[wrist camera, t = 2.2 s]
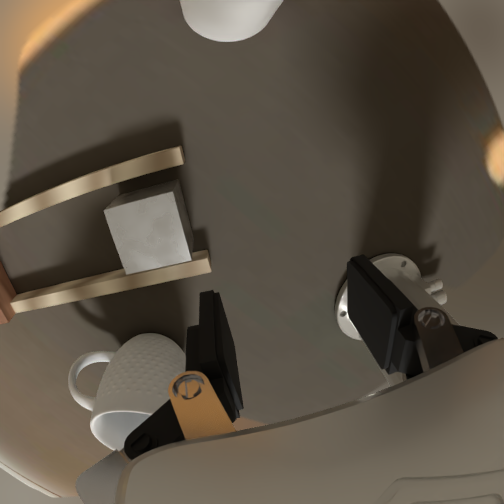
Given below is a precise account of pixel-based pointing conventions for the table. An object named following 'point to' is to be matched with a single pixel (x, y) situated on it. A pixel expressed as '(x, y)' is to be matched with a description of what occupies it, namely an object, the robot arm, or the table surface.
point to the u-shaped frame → (8, 302)
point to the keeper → (151, 227)
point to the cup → (228, 17)
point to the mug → (129, 385)
